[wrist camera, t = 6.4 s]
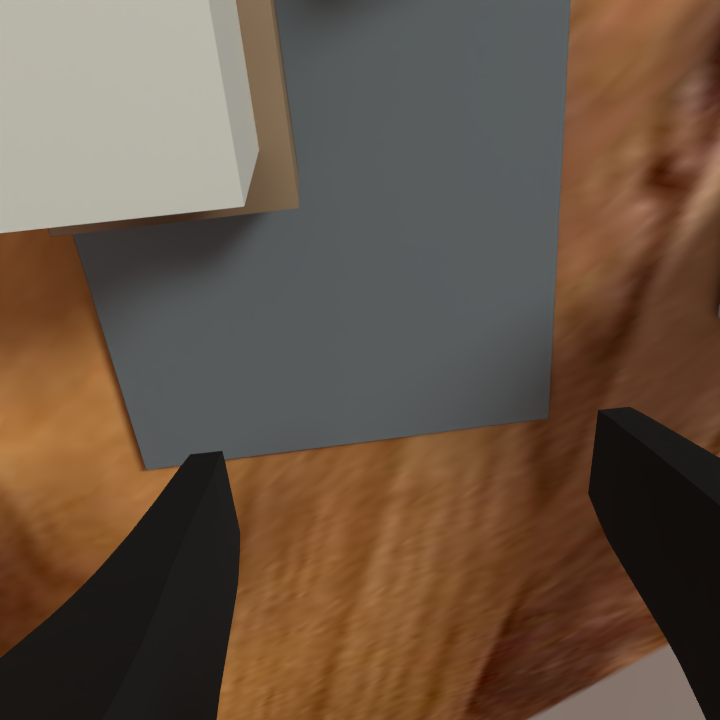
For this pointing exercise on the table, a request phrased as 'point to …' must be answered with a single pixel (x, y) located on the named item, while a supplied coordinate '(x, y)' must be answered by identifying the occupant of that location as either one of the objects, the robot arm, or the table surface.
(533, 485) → the table surface
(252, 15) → the walnut block
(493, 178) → the mat
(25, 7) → the cream cube
